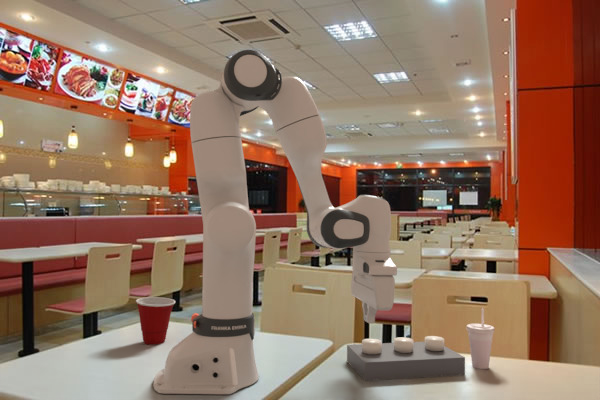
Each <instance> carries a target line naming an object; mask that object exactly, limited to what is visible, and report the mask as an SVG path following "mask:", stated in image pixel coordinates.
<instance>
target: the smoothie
mask: <svg viewBox="0 0 600 400" xmlns="http://www.w3.org/2000/svg"><path fill="white" fill-rule="evenodd" d="M465 329H466V330H467V332H468V333H467V335H468V340H469V349H470V357H471V364H472V367H473V368H475V369H479V370H486V369H489V367H490V360H491V359H490V358H491V352H492V345H493V344H492V343H493V337H494V336H493V334H494V333H495V327H494V326H493V325H489V324H485V309H484V308H483V307H482V308H481V323H469V324H466V327H465Z"/></svg>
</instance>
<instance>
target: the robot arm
mask: <svg viewBox="0 0 600 400" xmlns="http://www.w3.org/2000/svg"><path fill="white" fill-rule="evenodd" d="M258 108H260V109H261V110H263V111H265V112H266V114H267V115H268V117H269V118H270V119H271V122H272V125H273V128H274V132H275V134H276V136H277V138H278V141H279V143H280V145H281V148H282V151H283V152H284V154H285V156H286V158H287V160H288V162H289V164H290V166H291V169H292V171H293V173H294V175H295V179H296V181H297V184H298V187H299V191H300V193H301V197H302V200H303V203H304V205H305V208H306V209H305V210H306V233H307V235H308V238H309V239H310V241H311V242H312V243H313V244H314V245H315V246H317V247H319V248H322V249H324V248H325V249H334V250H343V249H347V248H352V250H353V251H352V269H351V270H352V275H351V282H350V283H351V285H350V293H351V297H352V296H353V297H355V298H356V299H358V300H359V301H361V305H362V312H363V321H365V322H366V323H368V324H370V325H371V324H373V325H374V324H375V322H376V315H377V312H378V311H391V310H392V308H393V306H394V301H395V300H394V299H395V290H396V289H395V287H396V286H395V285H396V282H395V276H397V274H398V267H397V265H396V264H395V263H394V261H393V259H392V258H391V247H390V238H391V235H392V212H391V205H390V204H389V202H388V201H387V200H386V199H385V198H384V197H379V196H376V195H370V194H360V195H358V196H357V198H355V199H352V200H351V201H349V202H347V203H345V204H342V205H340V206H337V207H334V206H333V204H332V202H331V200H330V197H329V194H328V190H327V188H326V184H325V181H324V178H323V174H322V161H323V157H324V155H325V151H326V149H327V145H328V139H327V133H326V129H325V125H324V122H323V119H322V116H321V114H320V110H319V109H318V106H317V105H316V102H315V100H314V98H313V96H312V94H311V92H310V90H309V89H308V87H307V86H306V84H305V83H304V81H303V80H302V79H300V77H297V76H289V75H288V76H284V77H283V76H282V72H281V71H280V70H279V69H278V68H276V66H275V65H273V63H272V62H271V61H270V60H269V59H268V58H267V57H266V56H265V55H263V53H260V52H259V51H256V50H254V49H244V50H240V51H238V52H236V53H235V54H233V55H232V56H231V57H230V58H229V59H228V60H227V62H226V63H225V66H224V69H223V72H222V75H221V78H220V83H219V86H218V88H217V89H215V90H208V91H205V92H201V93H199V94H197V95H196V96H195V97H194V98H193V99H192V101H191V104H190V109H189V130H190V140H191V141H190V142H191V148H192V156H193V164H194V170H195V178H196V185H197V192H198V200H199V203H200V204H199V205H200V209H201V212H200V213H201V217H202V218H201V219H202V224H203V226H202V227H203V228H202V232H203V233H202V238H203V239H202V292H201V293H202V299H201V300H202V301H201V302H202V303H201V306H202V307H201V308H202V309H201V314H200V313H197V312H194V313H193V314H192V315H191V318H190V321H191V323H192V326H191V329H192V332H191V333H189V334H188V335H187V336H186V337H184V339H182V340H181V341H180V342H178V343H177V344H176V345H174V346H173V347H172V348H171V349H170V351H169V353H168V354H167V357H166V360H165V365H164V368H163V369H161V370H160V371H158V372H157V373H156V374H155V376H154V379H153V387H152V388H153V389H154V391H155V392H156V393H158V394H166V395H167V394H171V395H172V394H174V395H175V394H177V395H179V394H180V395H231V394H234V393H235V392H237V391H239V390H240V389H243V388H246V387H248V386H251V385H253V384H255V383H256V382H258V380H259V378H260V375H259V372H258V367H257V363H256V359H255V358H256V355H255V349H254V348H255V347H254V340H255V333H256V332H255V331H256V326H255V325H256V323H255V321H256V320H255V315H254V313H253V299H254V298H253V291H254V290H253V289H254V287H253V285H254V283H253V282H254V280H253V279H254V267H255V257H256V255H255V254H256V239H257V238H256V237H257V235H256V234H257V224H256V220H255V217H254V215H253V213H252V212H251V211H250V206H249V197H248V196H249V195H248V185H247V182H248V181H247V171H246V170H247V169H246V162H245V156H244V149H243V142H242V135H241V129H240V117H241V116H244V115H247V114H249V113H252V112H254V111H255V110H256V109H258Z"/></svg>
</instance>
